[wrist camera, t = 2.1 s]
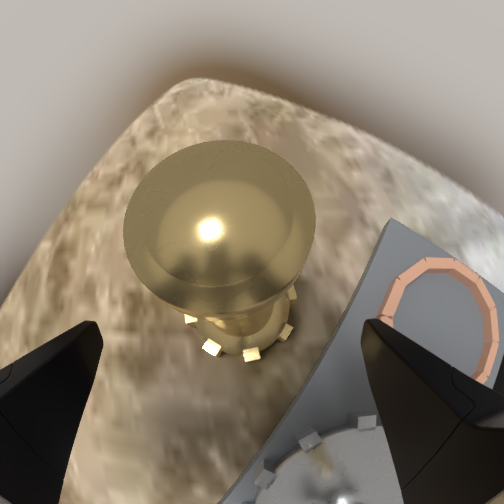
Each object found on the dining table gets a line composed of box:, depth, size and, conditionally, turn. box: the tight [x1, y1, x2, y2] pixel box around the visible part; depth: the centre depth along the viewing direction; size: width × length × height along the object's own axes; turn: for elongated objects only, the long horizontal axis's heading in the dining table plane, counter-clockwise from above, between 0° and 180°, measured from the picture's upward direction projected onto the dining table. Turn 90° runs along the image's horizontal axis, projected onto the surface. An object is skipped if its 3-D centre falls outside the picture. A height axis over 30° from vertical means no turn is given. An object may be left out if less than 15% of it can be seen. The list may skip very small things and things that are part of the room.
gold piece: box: [123, 140, 316, 362], centre depth 14 cm, size 7×7×13 cm
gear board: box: [218, 218, 504, 504], centre depth 15 cm, size 26×14×2 cm, turn 148°
